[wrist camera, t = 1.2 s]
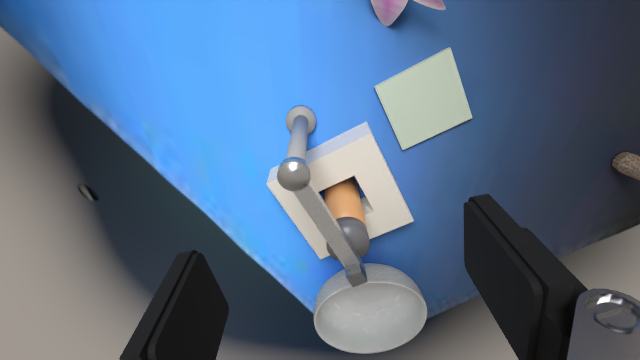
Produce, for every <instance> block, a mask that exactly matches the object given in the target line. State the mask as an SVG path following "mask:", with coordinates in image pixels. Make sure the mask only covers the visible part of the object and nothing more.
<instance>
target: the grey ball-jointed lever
mask: <svg viewBox="0 0 640 360" xmlns="http://www.w3.org/2000/svg"><path fill="white" fill-rule="evenodd" d="M310 177H311V170H310V166H309V164H308V163H307V162H306V161H305V160H303V159H301V158H299V157H289V158H286V159H285V160H283V161H282V162H281V163H280V165H279V168H278V172H277V180H278V182H279V184H280V185H281V186H282V187H283V188H284V189H286V190H289V191H293V193H294V194H295V196H296V197H297V199H298V200H299V202H300V203H301V204H302V206H303V207H304V209H305V210H306V212H307V213H308V215H309V216H310V218H311V219H312V221H313V222H314V224H315V225H316V226H317V228H318V229H319V231H320V232H321V234H322V235H323V237H324V238H325V240H326V241H327V243H328V244H329V246H330V247H331V248H332V250H333V251H334V253H335V254H336V256H337V257H338V259H339V260H340V262H341V263H342V265H343V266H344V268H345V274H346V278H347V280H348V281H349V283H350V284H351V285H352V287H356V286H358V285H361V284H364V283H366V282H368V280H367V275H366V269H365V265H364V263H363V262H362V260H361V259H360V257H359V256H358V254H357V252H356V251H355V249H354V248H353V246H352V245H351V243H350V241H349V240H348V238H347V237H346V235H345V234H344V232H343V230H342V229H341V227H340V226H339V224H338V223H337V221H336V219H335V218H334V216H333V215H332V213H331V212H330V210H329V208H328V207H327V205H326V204H325V202H324V201H323V199H322V197H321V196H320V194H319V193H318V191H317V190H316V188H315V186H314V185H313V183H312V182H311V180H310Z"/></svg>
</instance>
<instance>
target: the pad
mask: <svg viewBox="0 0 640 360" xmlns="http://www.w3.org/2000/svg"><path fill="white" fill-rule="evenodd" d="M374 88H375V90H376V92H377V94H378V97H379V99H380V101H381V103H382V106H383V108H384V110H385V112H386V115H387V117H388V119H389V121H390V123H391V126H392V128H393V130H394V132H395V135H396V137H397V139H398V141H399V144H400V146H401V148H402V150H405V149H407V148H409V147H411V146H413V145H415V144H417V143H420V142H422V141H424V140H426V139H428V138H430V137H433V136H435V135H437V134H439V133H441V132H443V131H445V130H448V129H450V128H452V127H454V126H456V125H458V124H461V123H463V122H465V121H467V120H469V119H471V118H472V115H471V112H470V108H469V105H468V102H467V99H466V95H465V92H464V89H463V86H462V83H461V79H460V76H459V73H458V70H457V67H456V63H455V60H454V57H453V54H452V51H451V48H450V47H448V48H446V49H444V50H442V51H440V52H438V53H436V54H434V55H433V56H431V57H429V58H427V59H425V60H423V61H421V62H419V63H417V64H415V65H413V66H412V67H410V68H408V69H406V70H404V71H402V72H400V73H398V74H396V75H394V76H392V77H391V78H389V79H387V80H385V81H383V82H381V83H379V84H377V85H375V86H374Z"/></svg>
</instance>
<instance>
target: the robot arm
mask: <svg viewBox="0 0 640 360" xmlns="http://www.w3.org/2000/svg"><path fill="white" fill-rule="evenodd" d="M464 262H465V267H466V270H467V272H468V274H469V276H470V277H471V279H472V281H473V282H474V284H475V286H476V287H477V289H478V291H479V293H480V294H481V296H482V298H483V299H484V301H485V303H486V304H487V306H488V308H489V310H490V311H491V313H492V315H493V316H494V318H495V320H496V321H497V323H498V325H499V327H500V328H501V330H502V332H503V333H504V335H505V337H506V339H507V340H508V342H509V344H510V345H511V347H512V349H513V350H514V352H515V354H516V356H517V357H518V359H519V360H640V301H639V300H637V299H635V298H633V297H631V296H629V295H627V294H624V293H621V292H618V291H614V290H609V289H591V290H587V288H586V287H585V286H584V285H583V284H582V283H581V282H580V281H579V280H578V279H577V278H576V277H575V276H574V275H573V274H572V273H571V272H570V271H569V270H568V269H567V268H566V267H565V266H564V265H563V264H562V263H561V262H560V261H559V260H558V259H557V258H556V257H555V256H554V255H553V254H552V253H551V252H550V251H549V250H548V249H547V248H546V247H545V246H544V245H543V243H542V242H541V241H540V240H539V239H538V238H537V237H536V236H535V235H534V234H533V233H532V232H531V231H529V230H528V229H526V228H521V227H520V226H519V225H518V224H517V223H516V222H515V221H514V220H513V219H512V218H511V217H510V216H509V215H508V214H507V213H506V212H505V211H504V210H503V209H502V207H501V206H500V205H499V204H498V203H497V202H496V201H495V200H494V199H493V198H492V197H491V196H490V195H489V194H484V195H479V196H473V197H470V198H469V201H468V202H465V203H464ZM228 312H229V307H228V303H227V301H226V299H225V297H224V295H223V293H222V291H221V289H220V287H219V285H218V283H217V281H216V279H215V277H214V276H213V273H212V271H211V269H210V267H209V266H208V263H207V261H206V260H205V258H204V256H203V254H201V253H198V252H197V251H196V250H192V251H186V252H182V253H179V254H178V255H177V256H176V258H175V259H174V261H173V263H172V265H171V267H170V269H169V270H168V272H167V274H166V276H165V277H164V279H163V281H162V283H161V285H160V287H159V288H158V290H157V292H156V294H155V295H154V297H153V299H152V301H151V303H150V304H149V306H148V308H147V310H146V312H145V313H144V315H143V317H142V319H141V320H140V322H139V324H138V326H137V328H136V330H135V331H134V333H133V335H132V337H131V338H130V340H129V342H128V344H127V346H126V348H125V349H124V351H123V353H122V355H121V356H120V360H216V356H217V352H218V349H219V345H220V342H221V338H222V335H223V331H224V327H225V324H226V320H227V317H228Z"/></svg>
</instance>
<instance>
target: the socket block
mask: <svg viewBox="0 0 640 360" xmlns="http://www.w3.org/2000/svg"><path fill="white" fill-rule="evenodd" d="M286 125H287V128H288V129H289V131H290V132H291V136H290V142H289V147H288V152H287V157H286V158H289V157H299V158H301V159H303V160H305V161H306V162H307V163H308V164H309V166H310V170H311V177H310V180H311V182H312V183H313V185H314V186H315V188H316V190H317V191H318V193H319V191H322V190H324V189H326V188H328V187H330V186H332V185H335V184H337V183H339V182H341V181H343V180H345V179H348V178H350V177H352V176H355V178H356V179H357V181H358V183H359V185H360V187H361V188H362V190H363V192H364V194H365V196H366V197H363V198H361V203H362V208H363V212H364V217H365V222H366V226H367V231H368V236H369V239H372V238H374V237H377V236H379V235H381V234H384V233H386V232H389V231H391V230H394V229H396V228H399V227H401V226H404V225H406V224H408V223H411V222H413V221H414V220H413V217H412V215H411V213H410V211H409V208H408V206H407V204H406V202H405V200H404V198H403V195H402V193H401V191H400V189H399V187H398V185H397V183H396V181H395V179H394V177H393V175H392V173H391V171H390V169H389V167H388V165H387V162H386V160H385V158H384V156H383V154H382V152H381V150H380V148H379V146H378V144H377V142H376V140H375V138H374V136H373V134H372V132H371V129H370V127H369V125H368V123H367V121H366V122H364V123H362V124H360V125H358V126H356V127H354V128H352V129H350V130H348V131H346V132H344V133H342V134H340V135H338V136H336V137H334V138H332V139H330V140H328V141H326V142H324V143H322V144H320V145H318V146H316V147H314V148H312V149H310V150H308V151H306V149H307V135H308V134H310V133H311V132H312V131H313V130H314V128H315V125H316V117H315V114H314V112H313V111H312V110H311V109H310V108H309V107H306V106H302V105H299V106H295V107H293V108H292V109H291V110H290V111H289V112H288V114H287V117H286ZM278 168H279V165H278V166H276V167H274V168H272V169H270V173H269V177H268V181H267V186H268V187H269V189H270V190H271V191H272V193H273V194H274V195H275V197H276V198H277V200H278V201H279V202H280V204H281V205H282V207H283V208H284V209H285V211H286V212H287V214H288V215H289V216H290V218H291V219H292V221H293V222H294V223H295V225H296V226H297V227H298V229H299V230H300V232H301V233H302V234H303V236H304V237H305V239H306V240H307V241H308V243H309V244H310V246H311V247H312V248H313V250H314V251H315V252H316V254H317V255H318V257H319V258H320V259H322V258H325V257H327V256H330V254H329V253H328V251H327V247H326V240H325V238H324V237H323V235H322V234H321V232H320V231H319V229H318V228H317V226H316V225H315V224H314V222H313V221H312V219H311V218H310V216H309V215H308V213H307V212H306V210H305V209H304V207H303V206H302V204H301V203H300V202H299V200H298V199H297V197H296V196H295V194H294V193H293V191H289V190H286V189H284V188H283V187H282V186H281V185H280V184H279V182H278V180H277V172H278ZM319 194H320V193H319ZM320 196H321V194H320ZM321 197H322V196H321ZM322 199H323V197H322ZM323 201H324V202H325V200H324V199H323Z"/></svg>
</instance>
